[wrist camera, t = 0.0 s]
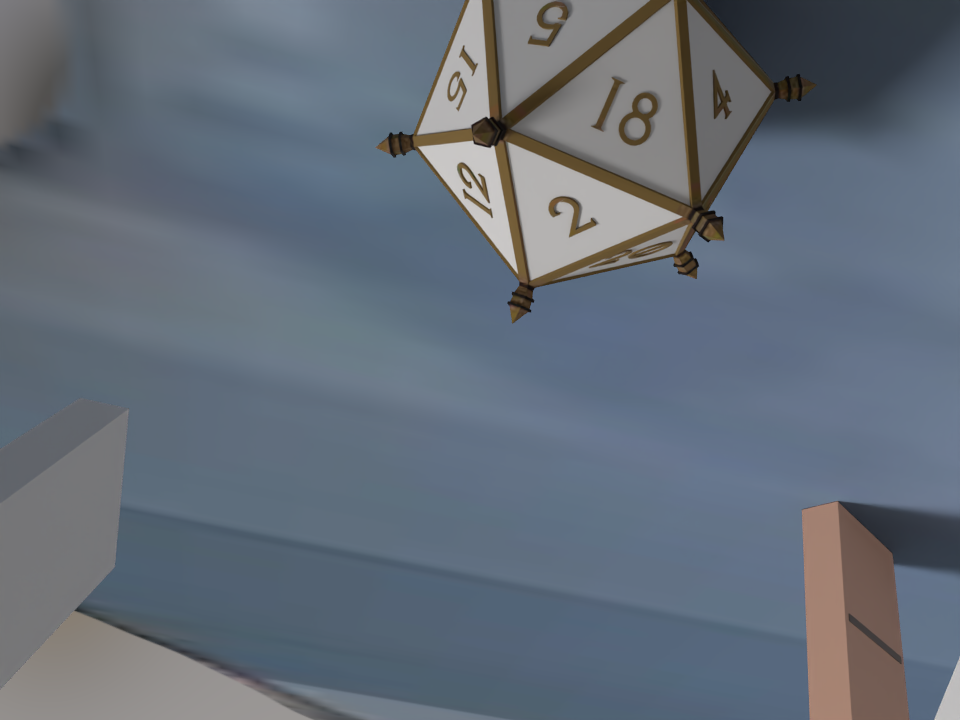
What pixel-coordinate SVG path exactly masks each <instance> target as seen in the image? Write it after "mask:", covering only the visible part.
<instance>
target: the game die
mask: <svg viewBox="0 0 960 720" xmlns="http://www.w3.org/2000/svg"><path fill="white" fill-rule="evenodd" d="M815 86H816V84H814V83H812V82H810V81H808V80H806V79H804V78H802V77H800V74H797V75H796V77H793V78H789V76H787V77H786V78H785V79H784V80H782V81H780V82H778V83H773V81H772V80H771V79H770V78H769V77H768V76H767V74H766V73H765V72H764V71H763V70H762V69H761V67H760V66H759V65H758V64H757V63H756V62H755V60H754V59H753V58H752V57H751V56H750V55H749V53H748V52H747V51H746V50H745V49H744V48H743V46H742V45H741V44H740V43H739V42H738V41H737V39H736V38H735V37H734V36H733V35H732V34H731V32H730V31H729V30H728V29H727V28H726V27H725V25H724V24H723V23H722V22H721V21H720V20H719V18H718V17H717V16H716V15H715V14H714V13H713V11H712V10H711V9H710V8H709V7H708V6H707V5H706V3H705V2H704V1H703V0H465V2H464V5H463V8H462V10H461V13H460V15H459V18H458V21H457V23H456V26H455V28H454V31H453V34H452V36H451V39H450V41H449V44H448V46H447V49H446V52H445V54H444V57H443V59H442V62H441V65H440V67H439V70H438V72H437V75H436V78H435V80H434V83H433V85H432V88H431V90H430V93H429V96H428V98H427V101H426V103H425V106H424V109H423V111H422V114H421V116H420V119H419V122H418V124H417V127H416V129H415V132H414V134H412V135H406V134H403V133H402V132H399V134H395V135H393V134H392V133H390V134H389V136H388V137H387V138H386V139H385V140H384V141H382V142H381V143H380V144H379V145H378V146H377V147H375V148H377V149H380V150H382V151H384V152H387V153H389V154H391V155H392V156H393V157H396V155H398V154H402V155H403V156H404V155H406V153H407V152H409V151H411V150H416V151H417V152H418V153H419V155H420V156H421V157H422V158H423V160H424V161H425V162H426V163H427V165H428V166H429V167H430V169H431V170H432V171H433V172H434V174H435V175H436V176H437V177H438V179H439V180H440V181H441V182H442V184H443V185H444V186H445V188H446V189H447V190H448V191H449V193H450V194H451V195H452V196H453V198H454V199H455V200H456V202H457V203H458V204H459V205H460V207H461V208H462V209H463V210H464V212H465V213H466V214H467V216H468V217H469V218H470V219H471V221H472V222H473V223H474V224H475V226H476V227H477V228H478V229H479V231H480V232H481V233H482V235H483V236H484V237H485V238H486V240H487V241H488V242H489V243H490V245H491V246H492V247H493V249H494V250H495V251H496V252H497V254H498V255H499V256H500V257H501V259H502V260H503V261H504V263H505V264H506V265H507V266H508V268H509V269H510V270H511V271H512V273H513V274H514V275H515V277H516V278H517V279H518V280H519V282H520V283H519V287H518V288H517V290H516V291H515V292H512V295H513V297H512V299H511V301H510V302H509V301H508V305H510V311H511V318H512V324H513V323H514V322H515V321H517V320H518V319H519V318H521V317H522V316H523V315H525V314H526V313H527V312H531V310H530V305H531V302H533V303H534V300H533V299H532V295H533V290H534V288H536V287H540V286H544V285H549V284H553V283H558V282H562V281H567V280H571V279H576V278H580V277H585V276H589V275H593V274H598V273H602V272H607V271H611V270H616V269H620V268H625V267H629V266H633V265H638V264H642V263H647V262H651V261H656V260H660V259H665V258H669V257H674V261H675V263H674V267H677V268H678V270H679V271H678V274H682V275H687V276H690V277H692V278H695V279H697V267H699V264H698V261H697V259H696V258H695V259H694V258H693V255H692V253H691V252H688V251H686V250H685V248H686V246H687V245H688V243H689V241H690V240H691V238H692V236H693V235H694V233H695V231H696V232H698V233H699V234H698V235H699V236H700V237H702V238H703V239H704V240H706V241H707V242H709V241H710V240H723V241H724V235H723V217H722V216H721V217H717V216H716V215H715V211H714V210H713V211H708V210H709V208H710V206H711V205H712V203H713V201H714V200H715V198H716V196H717V195H718V193H719V191H720V190H721V188H722V186H723V185H724V183H725V181H726V180H727V178H728V176H729V175H730V173H731V171H732V170H733V168H734V166H735V165H736V163H737V161H738V160H739V158H740V156H741V155H742V153H743V151H744V150H745V148H746V146H747V145H748V143H749V141H750V140H751V138H752V136H753V135H754V133H755V131H756V130H757V128H758V126H759V125H760V123H761V121H762V120H763V118H764V116H765V115H766V113H767V111H768V110H769V108H770V106H771V105H772V103H773V101H774V100H775V99H778V98H780V99H786V101H787V102H790V99H797V100H798V101H801V98H802V97H803V96H804V95H805V94H807V93H808V92H809V91H810V90H812V89H813V88H814V87H815Z"/></svg>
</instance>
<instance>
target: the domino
mask: <svg viewBox="0 0 960 720" xmlns="http://www.w3.org/2000/svg"><path fill="white" fill-rule="evenodd" d="M802 521H803V548H804V574H805V601H806V627H807V654H808V681H809V707H810V720H909V711H908V701H907V691H906V682H905V672H904V662H903V652H902V642H901V633H900V623H899V613H898V603H897V593H896V584H895V574H894V564H893V554H892V553H891V552H890V551H889V550H888V549H887V548H886V547H885V546H884V545H883V544H882V543H881V542H880V541H879V540H878V539H877V538H876V537H875V536H874V535H872V534H871V533H870V532H869V531H868V530H867V529H866V528H865V527H864V526H863V525H862V524H861V523H860V522H859V521H858V520H857V519H856V518H855V517H854V516H853V515H852V514H850V513H849V512H848V511H847V510H846V509H845V508H844V507H843V506H842V505H841V504H840V503H839V502H838V501H837V502H832V503H828V504H824V505H820V506H816V507H811V508H807V509H803V510H802Z"/></svg>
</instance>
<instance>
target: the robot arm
mask: <svg viewBox="0 0 960 720" xmlns="http://www.w3.org/2000/svg"><path fill="white" fill-rule="evenodd" d="M128 413H129V409H128V408H124V407H119V406H114V405H110V404H105V403H101V402H96V401H91V400H87V399H82V398H79V399H78V400H76V401H75V402H73V403H72V404H70V405H68V406H67V407H65V408H64V409H62V410H61V411H59V412H58V413H56V414H54V415H53V416H51V417H50V418H48V419H47V420H45V421H43V422H42V423H40V424H39V425H37V426H36V427H34V428H33V429H31V430H29V431H28V432H26V433H25V434H23V435H22V436H20V437H18V438H17V439H15V440H14V441H12V442H11V443H9V444H8V445H6V446H4V447H3V448H1V449H0V689H1V688H2V687H3V686H4V685H5V684H6V683H7V682H8V681H9V680H10V679H11V677H12V676H13V675H14V674H15V673H16V672H17V671H18V670H19V669H20V668H21V667H22V666H23V665H24V664H25V662H26V661H27V660H28V659H29V658H30V657H31V656H32V655H33V654H34V653H35V652H36V651H37V650H38V649H39V648H40V646H41V645H42V644H43V643H44V642H45V641H46V640H47V639H48V638H49V637H50V636H51V635H52V634H53V633H54V631H55V630H56V629H57V628H58V627H59V626H60V625H61V624H62V623H63V622H64V621H65V619H67V617H68V616H69V615H70V614H71V613H72V612H73V611H74V610H75V609H76V608H77V607H78V606H79V605H80V604H81V603H82V601H83V600H84V599H85V598H86V597H87V596H88V595H89V594H90V593H91V592H92V591H93V590H94V589H95V588H96V587H97V585H98V584H99V583H100V582H101V581H102V580H103V579H104V578H105V577H106V576H107V575H108V574H109V573H110V572H111V570H112V569H113V568H114V567H115V558H116V546H117V535H118V524H119V513H120V502H121V491H122V480H123V469H124V458H125V447H126V436H127V424H128ZM934 720H960V658H959V661H958V663H957V666H956V668H955V670H954V673H953V675H952V678H951V680H950V683H949V685H948V688H947V690H946V692H945V695H944V697H943V700H942V702H941V705H940V707H939V710H938V712H937V715H936V717H935V719H934Z"/></svg>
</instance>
